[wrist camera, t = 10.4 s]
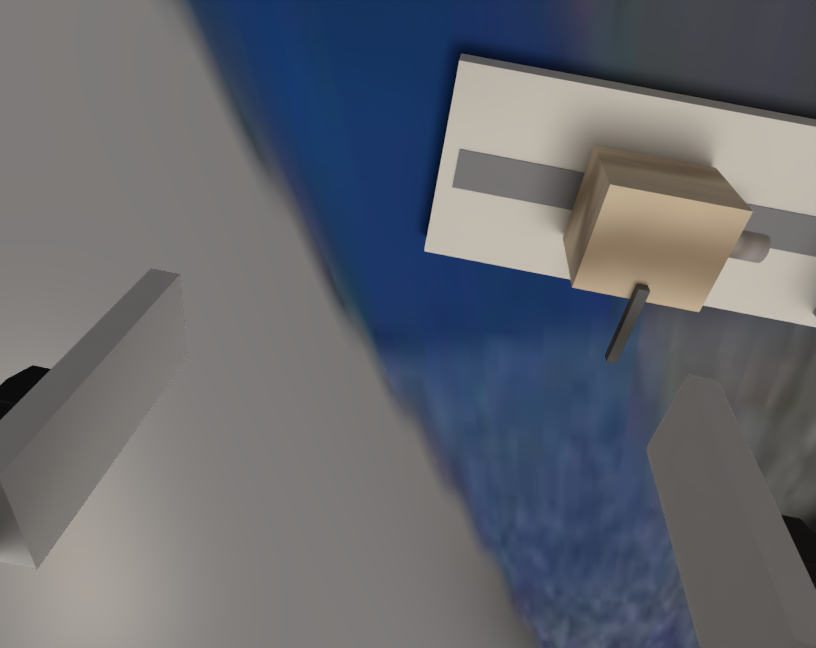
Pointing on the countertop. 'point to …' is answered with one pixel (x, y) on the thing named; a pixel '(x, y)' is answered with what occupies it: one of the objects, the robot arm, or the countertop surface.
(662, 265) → the gauge carriage
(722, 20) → the countertop surface
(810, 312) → the bench
